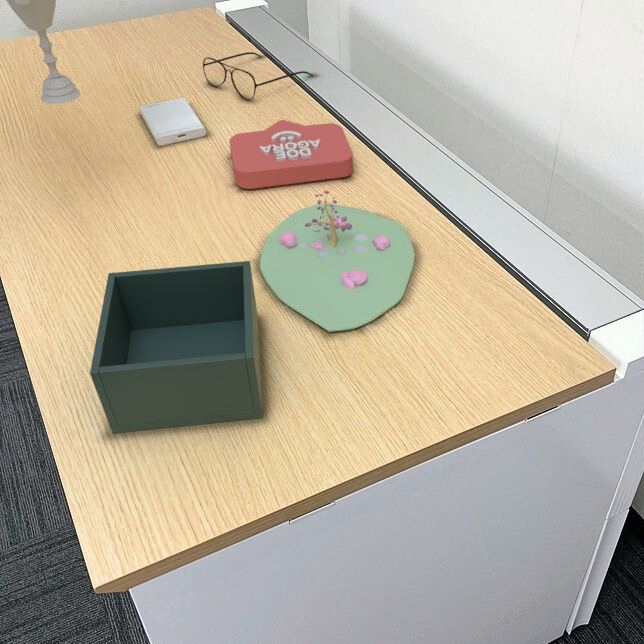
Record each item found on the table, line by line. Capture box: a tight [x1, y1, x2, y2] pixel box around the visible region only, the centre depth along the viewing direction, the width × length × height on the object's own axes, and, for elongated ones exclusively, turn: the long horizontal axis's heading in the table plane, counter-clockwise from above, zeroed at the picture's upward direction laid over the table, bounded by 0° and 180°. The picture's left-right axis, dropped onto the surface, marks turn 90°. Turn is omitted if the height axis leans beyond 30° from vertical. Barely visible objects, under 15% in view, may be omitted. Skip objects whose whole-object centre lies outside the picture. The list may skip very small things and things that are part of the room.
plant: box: [259, 190, 416, 333], centre depth 93 cm, size 25×21×9 cm
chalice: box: [5, 0, 81, 105], centre depth 93 cm, size 7×7×18 cm
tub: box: [89, 260, 264, 434], centre depth 79 cm, size 16×16×9 cm
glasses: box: [202, 51, 314, 101], centre depth 137 cm, size 14×15×5 cm
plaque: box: [228, 119, 354, 190], centre depth 114 cm, size 18×4×15 cm
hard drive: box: [139, 97, 207, 147], centre depth 124 cm, size 2×8×12 cm
